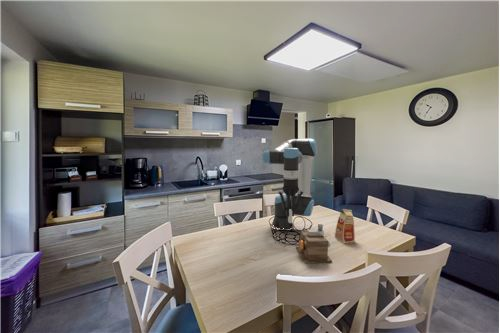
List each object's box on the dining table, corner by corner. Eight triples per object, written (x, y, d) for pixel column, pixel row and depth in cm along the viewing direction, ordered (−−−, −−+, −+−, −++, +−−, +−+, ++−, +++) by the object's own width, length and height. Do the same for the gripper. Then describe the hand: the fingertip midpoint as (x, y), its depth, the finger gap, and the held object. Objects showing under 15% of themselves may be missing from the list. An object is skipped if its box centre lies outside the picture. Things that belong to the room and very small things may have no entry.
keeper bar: (307, 233, 117) (307, 224, 117) (321, 233, 118) (322, 223, 117) (309, 236, 114) (309, 226, 114) (323, 235, 115) (324, 225, 114)
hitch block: (296, 248, 125) (296, 229, 123) (319, 247, 125) (320, 229, 124) (304, 263, 109) (305, 242, 108) (332, 262, 110) (333, 241, 108)
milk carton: (343, 243, 131) (345, 211, 129) (333, 237, 140) (335, 206, 138) (356, 241, 133) (357, 210, 131) (345, 235, 142) (347, 205, 140)
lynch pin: (298, 247, 119) (298, 238, 118) (326, 246, 120) (326, 237, 119) (301, 251, 114) (301, 242, 113) (330, 251, 115) (330, 241, 114)
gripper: (279, 179, 108) (279, 225, 110) (305, 179, 109) (304, 224, 111) (276, 177, 115) (276, 219, 118) (301, 176, 116) (300, 219, 119)
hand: (290, 222), depth 115 cm, fingers closed
